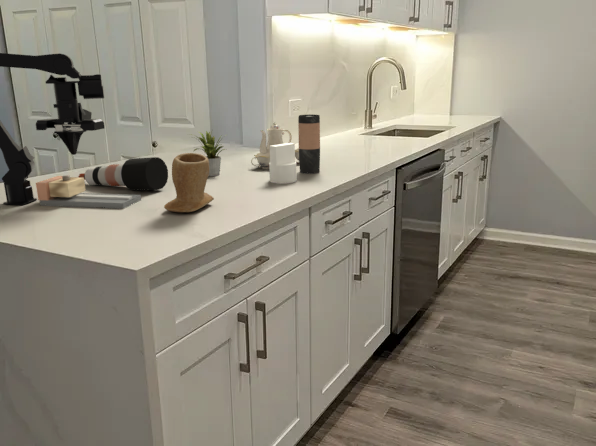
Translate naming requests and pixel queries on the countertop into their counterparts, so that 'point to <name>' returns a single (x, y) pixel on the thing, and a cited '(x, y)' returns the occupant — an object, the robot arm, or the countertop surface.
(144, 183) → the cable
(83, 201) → the track
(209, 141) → the house plant
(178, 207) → the stone cup
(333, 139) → the countertop surface
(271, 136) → the chinaware
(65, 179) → the block
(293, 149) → the base with upright slab
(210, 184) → the countertop surface
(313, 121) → the travel mug
